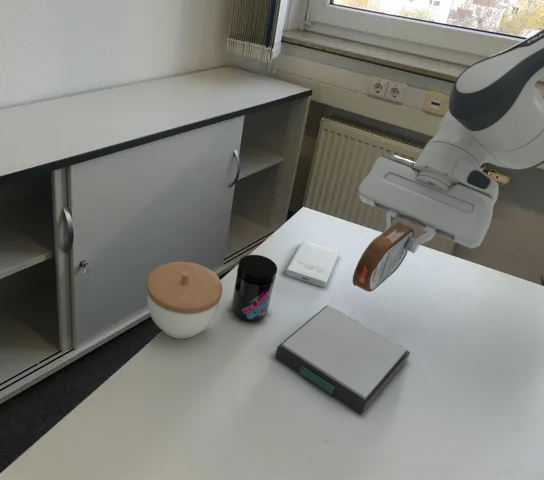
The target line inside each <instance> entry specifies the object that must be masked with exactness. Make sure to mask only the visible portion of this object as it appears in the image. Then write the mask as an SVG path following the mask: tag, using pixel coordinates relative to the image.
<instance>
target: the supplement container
mask: <svg viewBox="0 0 544 480" xmlns="http://www.w3.org/2000/svg"><path fill="white" fill-rule="evenodd" d="M277 273H278V265H277V264H276V263H275V261H273V260H272V259H271V258H269V257H268V256H267V257H266V256H264V255H260V254H248V255H247V254H246V255H245V256H242V257H241V258H240V259H239V260H238V265H237V270H236V277H235V283H234V288H233V289H234V290H233V294H232V300H231V306H230V307H231V311H232V313H233V315H234V316H235V317H236V318H237V319H239V320H240V321H243V322H247V323H259V322H260V321H262V320H264V319H265V318H266V316H267V315H268V312H269V307H270V303H271V299H272V294H273V289H274V285H275V280H276V278H277Z"/></svg>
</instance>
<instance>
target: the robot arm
mask: <svg viewBox="0 0 544 480" xmlns="http://www.w3.org/2000/svg"><path fill="white" fill-rule="evenodd" d="M542 77H544V28H543V29H541V30H539V31H538V32H536V33H534V34H532V35H531V36H529V37H527V38H525V39H523V40H522V41H520V42H518V43H517V44H515V45H513V46H511V47H509V48H507V49H505V50H502V51H500V52H498V53H496V54H495V53H494V54H493V55H490V56H488V57H486V58H482V59H481V60H478V61H477V62H474V63H472V64H471V65H470V66H468V67H467V68H466V69H464V70H463V71H462V72H461V73H460V74H459V75H458V77H457V78H456V80H455V81H454V83H453V85H452V89H451V91H450V94H449V100H448V109H447V111H446V112H445V114H444V115H443V117H442V119H441V120H440V121H439V124H438V127H437V131H436V132H435V135H434V136H433V137H432V138H431V139H430V140H429V141H428V142H426V144H425V145H424V148H423V149H422V151H421V152H420V154H419V156H418V157H417V158H416V160H415V161H412V160H409V159H406V158H402V157H400V156H398V155H395V154H393V153H391V154H388V155H386V154H385V155H382V156H379V157H377V159H376V160H375V162H374V163H373V165H372V166H371V169H370V172H369V173H368V174H367V175H366V176H365V178H364V179H363V180H362V181H361V183H360V184H359V186H358V188H357V193H358V197H359V199H360V201H361V202H362V203H364V204H367V205H369V206H371V207H374V208H376V209H378V210H381V211H383V212H384V213H386V214H385V226H386V227H385V229H384V231H383V232H385V231H386V230H387V229H389V228H390V227H391V226H393V223H397V222H398V220H399V219H401V220H403V221H406V222H408V223H410V224H413V225H415V226H417V227H420V228H422V229H423V234H421V235H420V236H418V237H416V238H414V237H413V238H411V237H410V239H409V240H408V243H406V245H405V249H406V250H408V251H407V252H409V253H412V254H415V253H416V252H417V250H418V248H419V247H420V246H422V245H423V244H426V243H427V242H429V241H432V240H433V238H434V237H435V235H439V236H441V237H443V238H445V239H447V240H450V241H452V242H453V243H456V244H459V245H461V246H463V247H466V248H468V249H472V250H473V249H475V248H478V247H480V246H481V245H482V243H483V241H484V239H485V237H486V235H487V233H488V231H489V228H490V225H491V223H492V219H493V212H494V206H495V204H496V202H497V201H498V198H499V194H500V193H499V191H500V190H499V189H500V188H499V184H498V182H497V181H496V180H495V179H493V178H492V177H491V176H489V175H488V174H487V173H485V172H484V171H483V170H481V169H480V168H481V167H482V165H483V164H486V163H488V164H490V165H491V166H494V167H498V168H502V169H507V170H512V171H525V170H530V169H534V168H537V167H539V166H541V165H543V164H544V97H543V95H542V94H541V93H540V91H539V90H538V88H537V87H536V86H535V85H536V83H537V82H538V81H539V80H540V78H542Z"/></svg>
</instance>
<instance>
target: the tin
mask: <svg viewBox="0 0 544 480" xmlns="http://www.w3.org/2000/svg"><path fill="white" fill-rule="evenodd" d="M384 231H385V230H384ZM384 231H383V232H382V233H381V234H378V236H376V237H375V238H374V239H372V241H371V242H370V243H369V244H368V245H367V247H366V248H365V249H364V251H363V253H362V254H361V256H360V258H359V260H358V262H357V264H356V267H355V269H354V272H353V275H352V285H353V286H354V287H358V288H359V289H362V290H364V291H365V292H368V293H371V292H373V291H375V290H376V289H377V288H378V287H380V286H381V284H383V283H384V282H385V281H386V280H387V279H388V278H390V277H391V276H392V275H393V274H394V273H395V272H397V270H398V269H399V268H400V266H401V265H402V263H403V262H404V260H405V259H406V256H407V254H408V252H409V251H408V250H406V249H405V245H406V243H408V240H409V239H410V237H411V238H414V237H415V230H414V229H413V228H411V227H410V226H408V225H406V224H403V223H402V222H400V221H396V222H394V224H392V226H391V227H390V228H389V229H387V230H386V231H385V232H384Z"/></svg>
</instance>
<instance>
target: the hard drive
mask: <svg viewBox="0 0 544 480" xmlns="http://www.w3.org/2000/svg"><path fill="white" fill-rule="evenodd" d="M339 254H340V252H339V250H335V249H332V248H329V247H326V246H323V245H319V244H315V243H312V242H310V241H305V240H302V241H301V242H300V244H299V247H298V248H297V250H296V251H295V253H294V255H293V257H292V259H291V260H290V263H289V264H288V266H287V267H286V269H285V270H286V271H285V276H288V277H290V278H293V279H296V280H299V281H303V282H305V283H308V284H311V285H314V286H317V287H321V288H326V285H327V284H328V281H329V279H330V276H331V273H332V272H333V269H334V266H335V264H336V262H337V259H338V257H339Z"/></svg>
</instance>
